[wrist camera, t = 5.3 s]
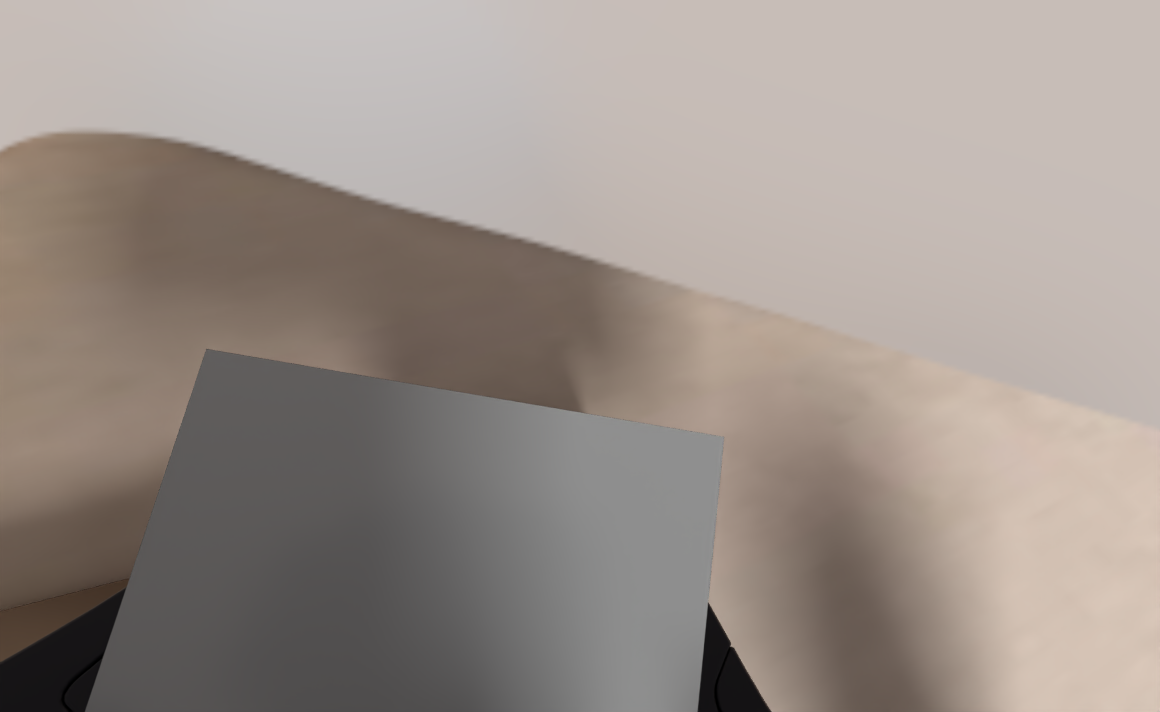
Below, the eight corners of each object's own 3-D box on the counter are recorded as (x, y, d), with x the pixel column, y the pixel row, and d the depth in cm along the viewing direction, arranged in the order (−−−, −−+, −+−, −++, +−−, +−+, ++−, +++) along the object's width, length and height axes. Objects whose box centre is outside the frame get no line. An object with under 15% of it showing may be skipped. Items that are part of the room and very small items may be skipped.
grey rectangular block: (568, 593, 15) (661, 1085, 4) (418, 570, 15) (-19, 1021, 3) (591, 442, 16) (724, 436, 5) (451, 418, 16) (206, 348, 4)
